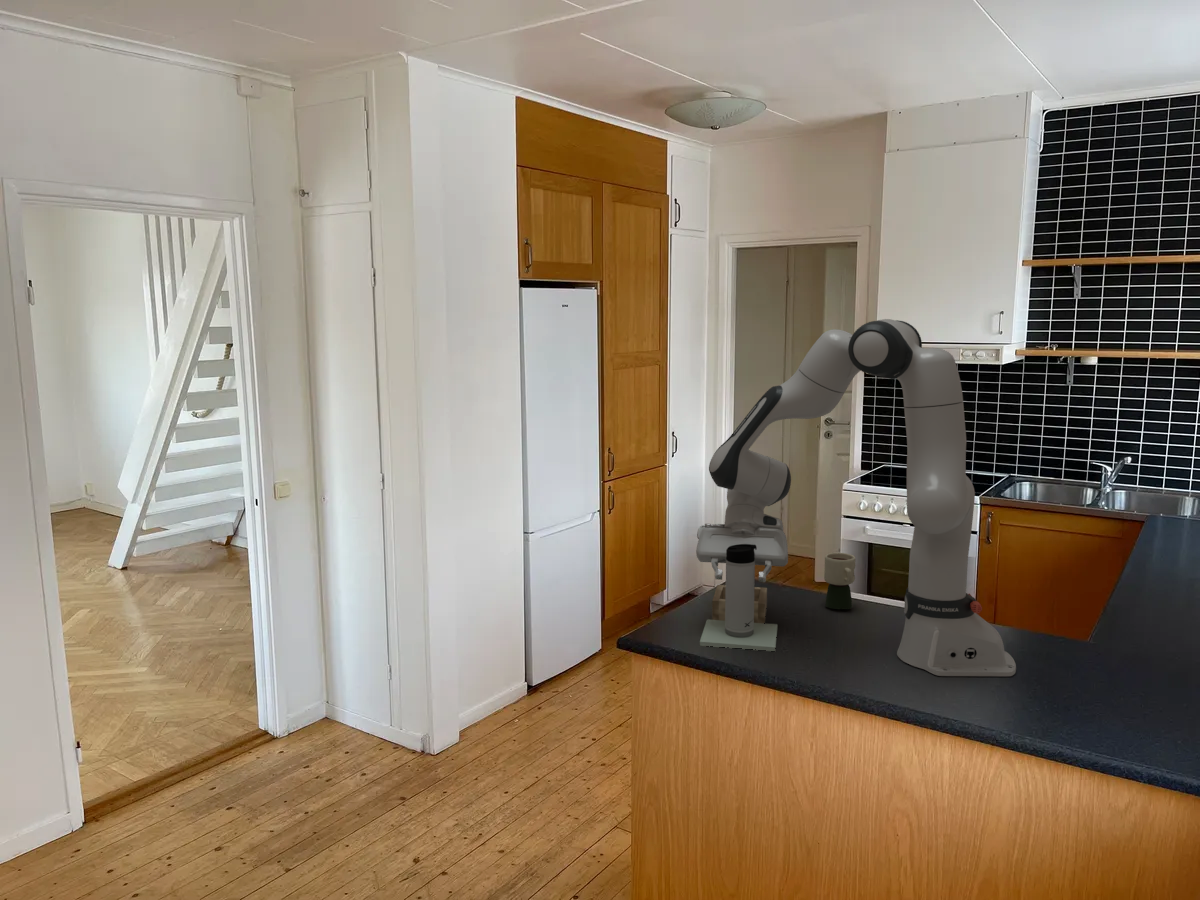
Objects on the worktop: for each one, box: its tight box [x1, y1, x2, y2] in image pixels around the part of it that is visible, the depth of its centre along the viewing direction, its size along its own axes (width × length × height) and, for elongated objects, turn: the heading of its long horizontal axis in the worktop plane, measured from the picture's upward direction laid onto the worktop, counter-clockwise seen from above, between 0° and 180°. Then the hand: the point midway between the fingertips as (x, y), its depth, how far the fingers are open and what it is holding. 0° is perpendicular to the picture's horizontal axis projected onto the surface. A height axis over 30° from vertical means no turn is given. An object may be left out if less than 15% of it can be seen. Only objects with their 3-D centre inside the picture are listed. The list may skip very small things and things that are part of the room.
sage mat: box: [699, 619, 778, 652], centre depth 193 cm, size 16×14×1 cm
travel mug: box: [725, 544, 757, 637], centre depth 191 cm, size 6×7×20 cm
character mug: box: [823, 552, 856, 611], centre depth 210 cm, size 11×7×13 cm, turn 10°
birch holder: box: [711, 584, 768, 624], centre depth 207 cm, size 12×12×5 cm
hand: (740, 579), depth 190 cm, fingers open, 8 cm apart
